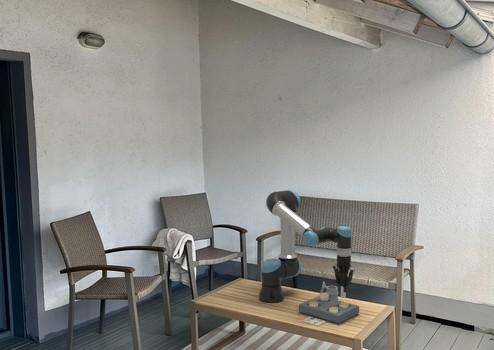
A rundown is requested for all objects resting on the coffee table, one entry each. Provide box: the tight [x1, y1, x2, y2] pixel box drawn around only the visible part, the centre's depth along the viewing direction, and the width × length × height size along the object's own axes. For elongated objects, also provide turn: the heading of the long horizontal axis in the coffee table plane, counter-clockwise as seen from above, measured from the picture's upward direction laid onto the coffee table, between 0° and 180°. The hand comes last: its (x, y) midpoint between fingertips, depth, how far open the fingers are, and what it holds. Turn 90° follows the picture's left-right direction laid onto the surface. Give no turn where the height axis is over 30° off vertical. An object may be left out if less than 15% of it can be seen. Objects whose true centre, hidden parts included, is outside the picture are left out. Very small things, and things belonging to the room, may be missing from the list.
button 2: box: [319, 292, 328, 303], centre depth 273 cm, size 5×5×5 cm
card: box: [301, 316, 327, 327], centre depth 254 cm, size 10×7×1 cm
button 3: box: [329, 307, 338, 313], centre depth 257 cm, size 5×5×5 cm
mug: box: [319, 281, 339, 300], centre depth 283 cm, size 8×12×12 cm, turn 48°
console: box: [298, 295, 360, 326], centre depth 265 cm, size 26×20×5 cm
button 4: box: [339, 301, 349, 308], centre depth 264 cm, size 5×5×5 cm
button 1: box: [309, 302, 318, 307], centre depth 266 cm, size 5×5×5 cm
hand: (343, 297), depth 264 cm, fingers closed
